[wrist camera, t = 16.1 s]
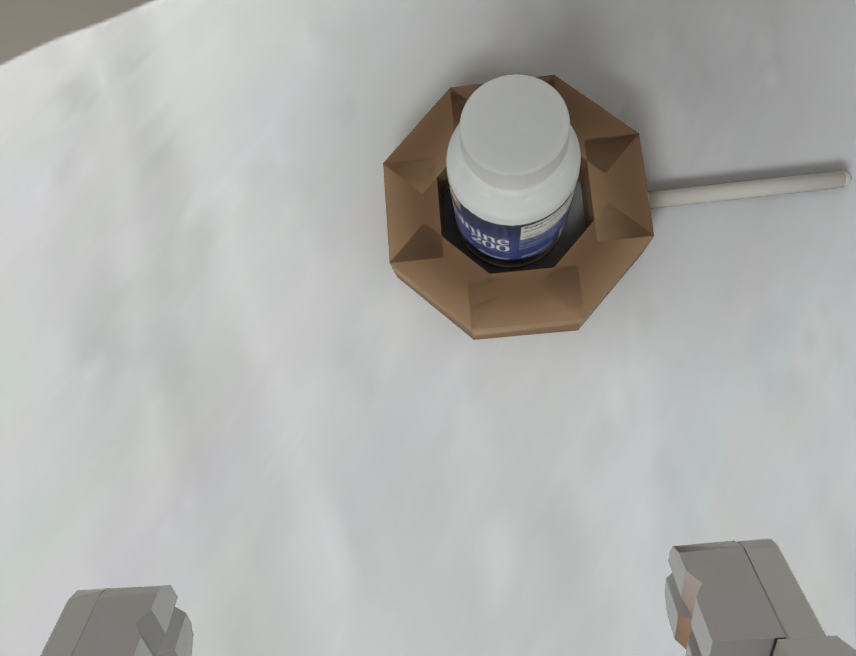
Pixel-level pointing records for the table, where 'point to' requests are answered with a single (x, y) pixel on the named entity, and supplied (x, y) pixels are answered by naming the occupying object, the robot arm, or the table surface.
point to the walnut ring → (530, 289)
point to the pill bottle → (513, 170)
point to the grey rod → (749, 189)
